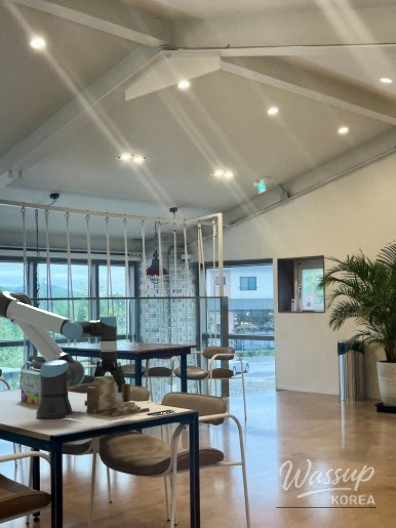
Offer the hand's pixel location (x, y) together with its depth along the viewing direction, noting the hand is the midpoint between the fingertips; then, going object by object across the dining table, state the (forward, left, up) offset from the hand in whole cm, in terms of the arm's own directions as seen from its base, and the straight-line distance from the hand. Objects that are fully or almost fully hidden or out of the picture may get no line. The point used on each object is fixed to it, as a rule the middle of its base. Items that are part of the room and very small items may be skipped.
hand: (108, 399), depth 290 cm
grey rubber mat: (+13, -17, -6) cm, 22 cm away
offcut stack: (0, -12, -6) cm, 13 cm away
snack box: (-3, +56, -6) cm, 56 cm away
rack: (0, -6, -6) cm, 8 cm away
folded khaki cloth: (0, 0, -5) cm, 5 cm away
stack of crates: (+7, +22, -7) cm, 24 cm away
